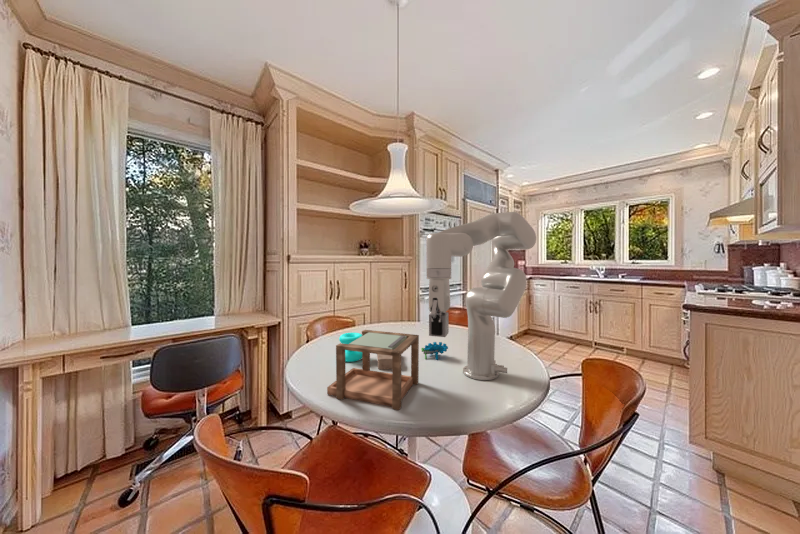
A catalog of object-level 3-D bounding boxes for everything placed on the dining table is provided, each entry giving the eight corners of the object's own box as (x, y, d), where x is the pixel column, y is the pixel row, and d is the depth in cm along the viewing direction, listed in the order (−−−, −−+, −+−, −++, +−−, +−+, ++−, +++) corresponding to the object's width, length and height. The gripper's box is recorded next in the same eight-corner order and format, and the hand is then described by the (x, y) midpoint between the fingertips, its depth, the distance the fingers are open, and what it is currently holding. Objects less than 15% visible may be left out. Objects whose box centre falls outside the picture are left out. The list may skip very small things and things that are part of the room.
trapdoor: (406, 339, 105) (406, 335, 105) (391, 352, 92) (391, 347, 92) (368, 335, 110) (368, 331, 110) (348, 347, 97) (348, 342, 97)
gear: (448, 350, 136) (446, 339, 129) (449, 363, 132) (448, 352, 125) (422, 353, 138) (419, 342, 130) (423, 365, 134) (420, 355, 126)
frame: (418, 382, 108) (418, 335, 107) (398, 410, 89) (399, 353, 88) (354, 373, 116) (354, 328, 115) (324, 396, 97) (324, 344, 96)
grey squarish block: (448, 332, 99) (448, 312, 99) (445, 337, 94) (445, 315, 94) (433, 331, 101) (432, 311, 100) (429, 335, 96) (428, 314, 96)
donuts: (336, 333, 133) (359, 330, 137) (336, 356, 133) (359, 353, 138) (342, 339, 124) (366, 336, 128) (342, 364, 124) (366, 360, 129)
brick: (399, 370, 120) (399, 357, 119) (377, 370, 119) (377, 358, 119) (396, 355, 136) (396, 344, 136) (377, 355, 135) (377, 345, 135)
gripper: (445, 276, 87) (445, 341, 88) (455, 271, 103) (455, 326, 104) (419, 276, 90) (419, 339, 91) (433, 271, 106) (433, 324, 107)
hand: (438, 331), depth 98 cm, fingers closed on grey squarish block, 5 cm apart
